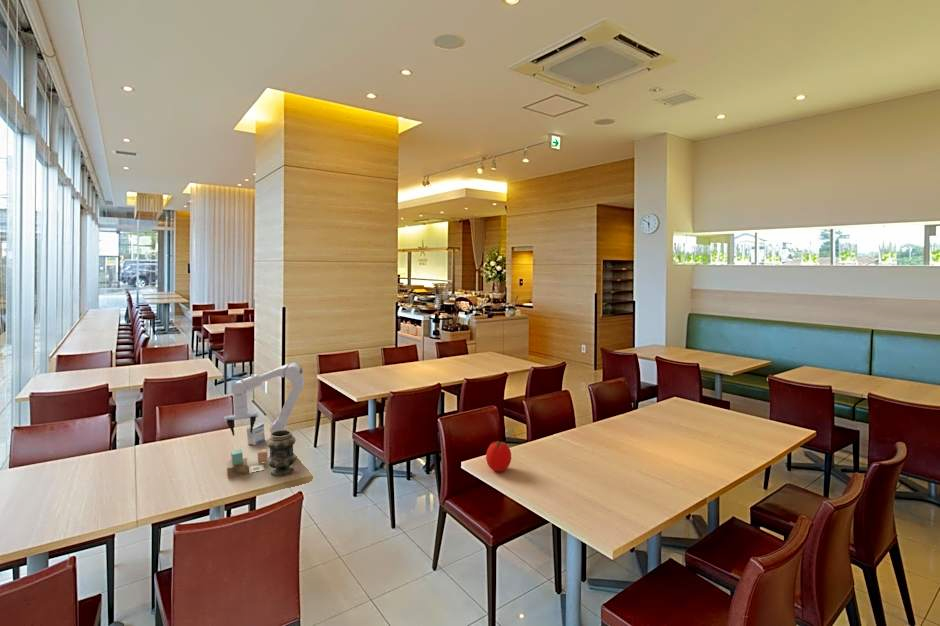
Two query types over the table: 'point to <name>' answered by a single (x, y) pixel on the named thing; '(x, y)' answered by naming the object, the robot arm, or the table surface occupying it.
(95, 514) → the table surface
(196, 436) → the table surface
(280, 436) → the apothecary jar
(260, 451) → the terracotta block
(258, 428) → the medicine box
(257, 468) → the card
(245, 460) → the walnut block
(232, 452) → the teal block
